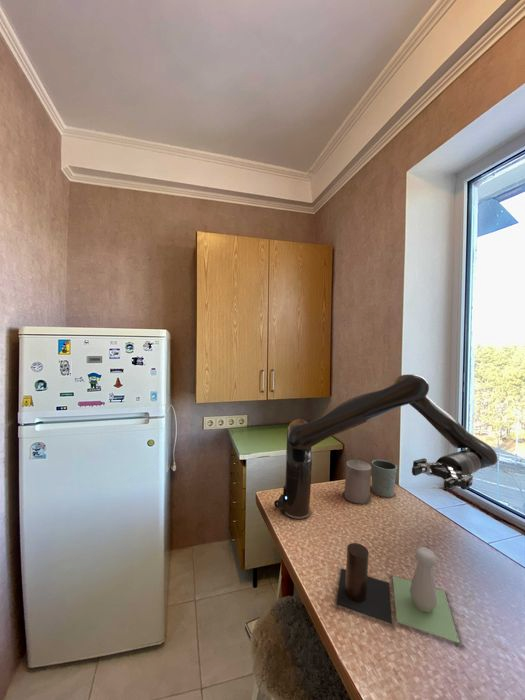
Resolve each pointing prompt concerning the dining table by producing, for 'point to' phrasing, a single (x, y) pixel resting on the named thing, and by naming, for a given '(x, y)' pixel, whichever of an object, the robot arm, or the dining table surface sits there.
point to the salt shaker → (424, 581)
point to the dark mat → (368, 599)
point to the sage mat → (430, 622)
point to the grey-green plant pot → (383, 477)
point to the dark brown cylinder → (356, 572)
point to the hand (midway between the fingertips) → (428, 478)
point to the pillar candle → (357, 481)
